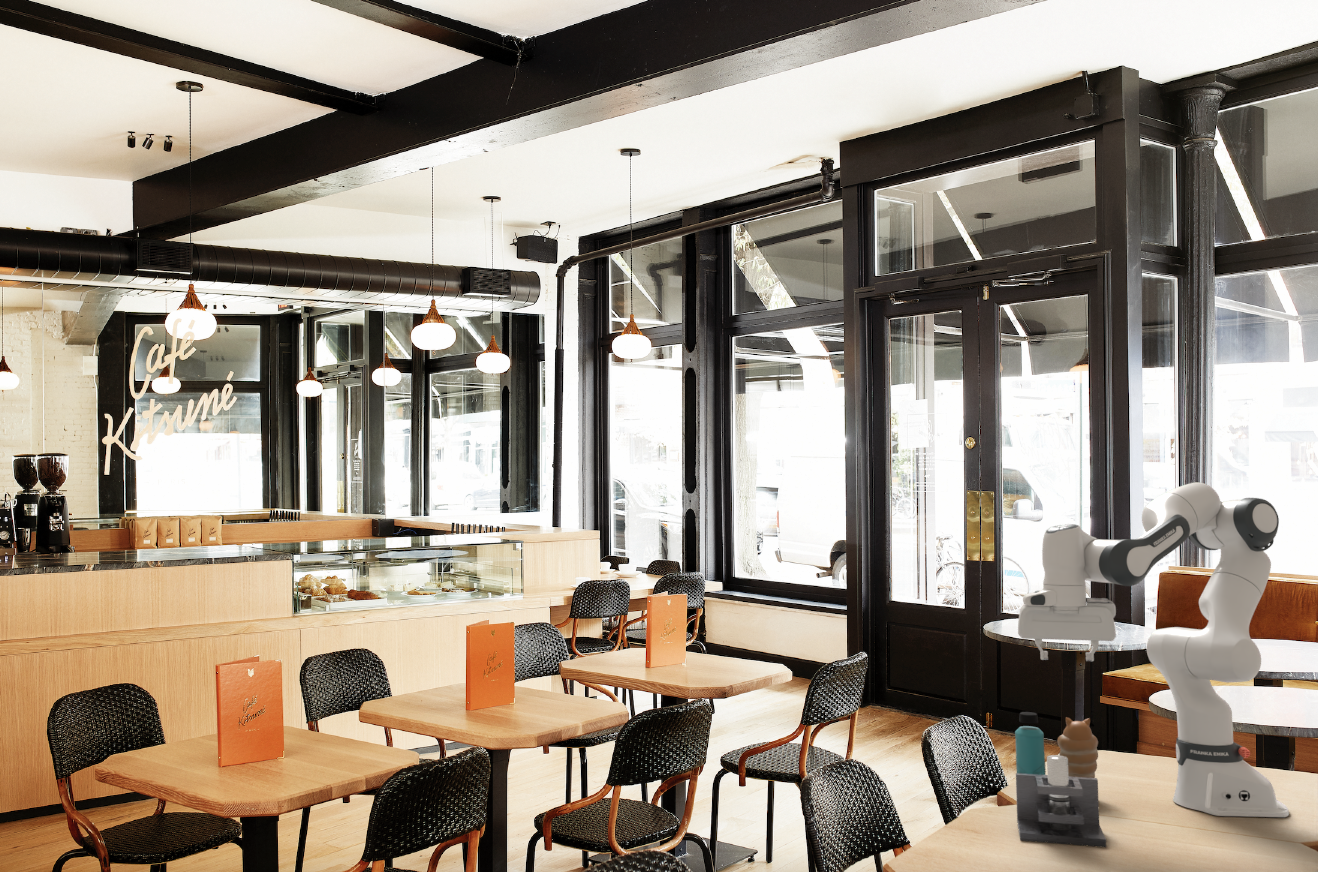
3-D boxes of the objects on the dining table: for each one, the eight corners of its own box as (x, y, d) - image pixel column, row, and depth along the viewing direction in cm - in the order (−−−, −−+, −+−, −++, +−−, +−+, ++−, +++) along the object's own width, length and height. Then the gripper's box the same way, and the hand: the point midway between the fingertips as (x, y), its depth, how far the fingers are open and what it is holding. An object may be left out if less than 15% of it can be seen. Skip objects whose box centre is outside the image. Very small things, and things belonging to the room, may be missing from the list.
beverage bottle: (1049, 806, 228) (1046, 715, 230) (1018, 804, 230) (1015, 714, 231) (1044, 798, 235) (1041, 710, 236) (1014, 797, 236) (1011, 709, 238)
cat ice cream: (1097, 793, 239) (1094, 715, 240) (1103, 802, 231) (1100, 722, 232) (1057, 791, 241) (1054, 714, 242) (1062, 800, 233) (1059, 720, 234)
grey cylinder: (1070, 824, 210) (1066, 755, 211) (1072, 831, 206) (1069, 760, 207) (1048, 823, 211) (1045, 754, 212) (1050, 829, 207) (1047, 759, 208)
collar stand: (1098, 829, 212) (1096, 777, 212) (1106, 847, 200) (1104, 792, 201) (1017, 823, 216) (1015, 772, 217) (1020, 840, 205) (1018, 787, 206)
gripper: (1113, 597, 227) (1115, 660, 226) (1016, 595, 233) (1018, 656, 232) (1117, 599, 221) (1119, 664, 220) (1017, 597, 227) (1019, 660, 226)
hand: (1067, 660), depth 226 cm, fingers open, 8 cm apart
